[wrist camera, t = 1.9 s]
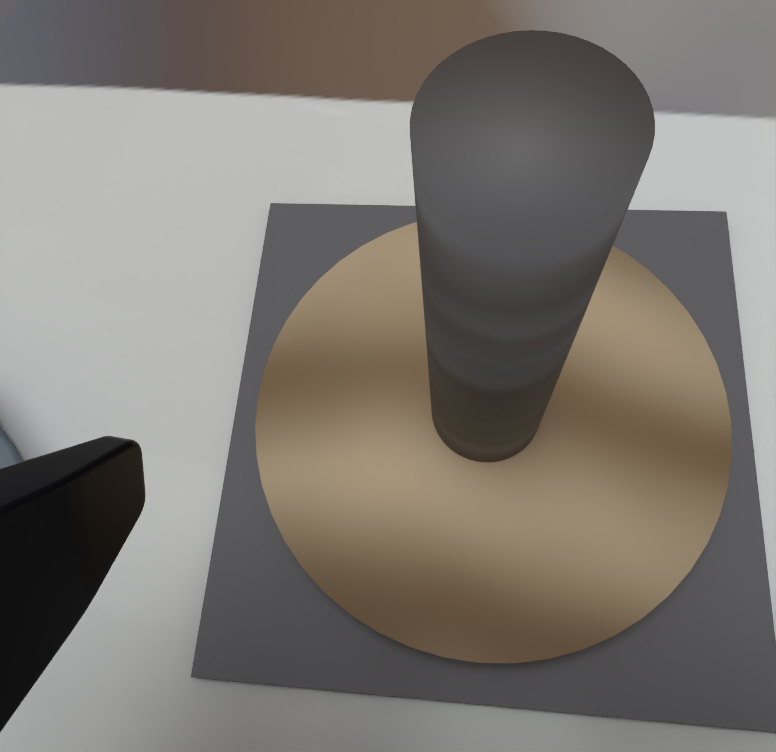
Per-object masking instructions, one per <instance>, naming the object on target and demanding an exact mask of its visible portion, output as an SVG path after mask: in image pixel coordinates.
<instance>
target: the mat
mask: <svg viewBox="0 0 776 752" xmlns="http://www.w3.org/2000/svg"><path fill="white" fill-rule="evenodd" d="M415 222H417V217H416V206H389V205H335V204H280V203H271V204H270V210H269V216H268V222H267V228H266V234H265V240H264V246H263V252H262V258H261V263H260V269H259V275H258V281H257V287H256V293H255V299H254V305H253V311H252V317H251V323H250V329H249V335H248V341H247V347H246V353H245V359H244V365H243V371H242V376H241V382H240V388H239V394H238V400H237V406H236V412H235V418H234V424H233V430H232V436H231V442H230V448H229V454H228V460H227V466H226V472H225V478H224V484H223V490H222V495H221V501H220V507H219V513H218V519H217V525H216V531H215V537H214V543H213V549H212V555H211V561H210V567H209V573H208V579H207V585H206V591H205V597H204V603H203V608H202V614H201V620H200V626H199V632H198V638H197V644H196V650H195V656H194V662H193V668H192V674H191V677H193V678H204V679H215V680H225V681H236V682H246V683H257V684H267V685H278V686H289V687H299V688H310V689H320V690H331V691H341V692H352V693H363V694H373V695H384V696H394V697H405V698H415V699H426V700H437V701H447V702H458V703H468V704H479V705H489V706H500V707H511V708H521V709H532V710H542V711H553V712H563V713H574V714H585V715H595V716H606V717H616V718H627V719H637V720H648V721H659V722H669V723H680V724H690V725H701V726H711V727H722V728H733V729H743V730H754V731H764V732H775V733H776V641H775V633H774V624H773V615H772V606H771V598H770V589H769V580H768V571H767V563H766V554H765V545H764V536H763V528H762V519H761V510H760V502H759V493H758V484H757V475H756V467H755V458H754V449H753V440H752V432H751V423H750V414H749V406H748V397H747V388H746V379H745V371H744V362H743V353H742V344H741V336H740V327H739V318H738V309H737V301H736V292H735V283H734V275H733V266H732V257H731V248H730V240H729V231H728V222H727V213H726V212H716V211H662V210H627V212H626V214H625V217H624V219H623V221H622V224H621V226H620V229H619V231H618V234H617V236H616V239H615V241H614V244H613V246H615V247H616V248H618V249H620V250H622V251H623V252H625V253H626V254H628V255H629V256H630V257H632V258H633V259H635V260H636V261H637V262H639V263H640V264H641V265H643V266H644V267H645V268H647V269H648V270H649V271H650V272H651V273H652V274H653V275H655V276H656V277H657V278H658V279H659V280H660V281H661V282H662V283H663V284H664V285H665V286H666V287H667V288H668V289H669V290H670V291H671V292H672V293H673V294H674V296H675V297H676V298H677V299H678V300H679V302H680V303H681V304H682V305H683V306H684V307H685V309H686V310H687V311H688V312H689V314H690V316H691V317H692V319H693V320H694V322H695V323H696V325H697V326H698V328H699V330H700V331H701V333H702V334H703V336H704V338H705V340H706V342H707V344H708V346H709V348H710V350H711V352H712V354H713V357H714V359H715V361H716V363H717V366H718V369H719V372H720V375H721V378H722V381H723V385H724V388H725V391H726V396H727V401H728V407H729V413H730V418H731V435H732V457H731V466H730V475H729V484H728V487H727V491H726V495H725V499H724V502H723V506H722V510H721V513H720V516H719V518H718V521H717V523H716V525H715V527H714V530H713V532H712V534H711V537H710V539H709V541H708V543H707V545H706V547H705V548H704V550H703V551H702V553H701V555H700V556H699V558H698V559H697V561H696V562H695V564H694V566H693V567H692V569H691V570H690V572H689V573H688V574H687V575H686V576H685V577H684V579H683V580H682V581H681V582H680V583H679V584H678V586H677V587H676V588H675V589H674V590H673V591H672V593H671V594H670V595H669V596H668V597H667V598H666V599H664V600H663V601H662V602H661V603H660V604H659V605H657V606H656V607H655V608H654V609H653V610H652V611H650V612H649V613H648V614H647V615H646V616H645V617H643V618H642V619H640V620H639V621H637V622H636V623H634V624H632V625H631V626H629V627H628V628H626V629H624V630H623V631H621V632H620V633H618V634H616V635H615V636H613V637H610V638H608V639H606V640H604V641H601V642H599V643H597V644H594V645H592V646H590V647H588V648H585V649H583V650H580V651H576V652H572V653H569V654H565V655H561V656H558V657H554V658H550V659H545V660H537V661H529V662H521V663H476V662H470V661H464V660H457V659H451V658H445V657H441V656H437V655H434V654H431V653H428V652H424V651H421V650H418V649H415V648H411V647H409V646H406V645H404V644H402V643H400V642H398V641H396V640H393V639H391V638H389V637H387V636H385V635H383V634H380V633H378V632H377V631H375V630H374V629H372V628H371V627H369V626H367V625H366V624H364V623H363V622H361V621H360V620H358V619H356V618H355V617H353V616H352V615H350V614H349V613H348V612H347V611H345V610H344V609H343V608H342V607H341V606H340V605H338V604H337V603H336V602H335V601H334V600H333V599H331V598H330V597H329V596H328V595H327V594H326V593H324V592H323V590H322V589H321V588H320V587H319V586H318V585H317V584H316V583H315V581H314V580H313V579H312V578H311V577H310V576H309V575H308V574H307V572H306V571H305V570H304V569H303V568H302V566H301V565H300V563H299V562H298V560H297V559H296V557H295V556H294V554H293V553H292V551H291V550H290V548H289V547H288V545H287V544H286V543H285V541H284V539H283V537H282V535H281V533H280V531H279V528H278V526H277V524H276V522H275V520H274V518H273V516H272V514H271V511H270V508H269V505H268V502H267V499H266V496H265V493H264V490H263V487H262V483H261V478H260V472H259V467H258V461H257V456H256V434H255V423H256V412H257V401H258V395H259V390H260V386H261V382H262V377H263V373H264V369H265V367H266V364H267V361H268V358H269V356H270V353H271V350H272V348H273V345H274V343H275V341H276V339H277V337H278V335H279V334H280V332H281V330H282V328H283V326H284V324H285V322H286V320H287V319H288V317H289V316H290V315H291V313H292V312H293V310H294V309H295V307H296V306H297V305H298V303H299V302H300V300H301V299H302V298H303V297H304V295H305V294H306V293H307V292H308V291H309V290H310V289H311V288H312V287H313V285H314V284H315V283H316V282H317V281H318V280H319V279H320V278H321V277H322V276H323V275H324V274H325V273H327V272H328V271H329V270H330V269H331V268H332V267H334V266H335V265H336V264H337V263H338V262H339V261H341V260H342V259H343V258H345V257H346V256H348V255H349V254H351V253H352V252H354V251H355V250H357V249H358V248H360V247H361V246H363V245H365V244H366V243H368V242H370V241H372V240H374V239H376V238H378V237H380V236H382V235H384V234H385V233H388V232H390V231H393V230H396V229H398V228H401V227H403V226H406V225H409V224H411V223H415Z"/></svg>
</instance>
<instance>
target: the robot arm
mask: <svg viewBox="0 0 776 752" xmlns="http://www.w3.org/2000/svg"><path fill="white" fill-rule="evenodd" d="M144 502H145V484H144V472H143V461H142V452H141V448H140V446H139V444H138V443H137V442H136V441H134V440H130V439H124V438H118V437H113V436H105V437H101V438H98V439H94V440H91V441H88V442H85V443H82V444H78V445H75V446H72V447H69V448H65V449H62V450H59V451H56V452H52V453H49V454H46V455H43V456H40V457H36V458H33V459H30V460H27V461H23V462H20V463H17V464H14V465H11V466H7V467H4V468H1V469H0V732H1V730H2V729H3V728H4V726H5V725H6V723H7V722H8V721H9V719H10V718H11V716H12V715H13V713H14V712H15V711H16V709H17V708H18V706H19V705H20V704H21V702H22V701H23V699H24V698H25V697H26V695H27V694H28V692H29V691H30V689H31V688H32V687H33V685H34V684H35V682H36V681H37V680H38V678H39V677H40V675H41V674H42V673H43V671H44V670H45V668H46V667H47V665H48V664H49V663H50V661H51V660H52V658H53V657H54V656H55V654H56V653H57V651H58V650H59V649H60V647H61V646H62V644H63V643H64V641H65V640H66V639H67V637H68V636H69V634H70V633H71V632H72V630H73V629H74V627H75V626H76V624H77V623H78V621H79V620H80V618H81V617H82V615H83V614H84V613H85V611H86V609H87V608H88V606H89V604H90V603H91V601H92V599H93V598H94V596H95V595H96V593H97V591H98V589H99V587H100V586H101V584H102V582H103V580H104V578H105V577H106V575H107V573H108V571H109V570H110V568H111V566H112V564H113V562H114V561H115V559H116V557H117V555H118V554H119V552H120V550H121V548H122V546H123V545H124V543H125V541H126V539H127V538H128V536H129V534H130V532H131V530H132V529H133V527H134V525H135V523H136V521H137V520H138V518H139V516H140V514H141V512H142V509H143V507H144Z"/></svg>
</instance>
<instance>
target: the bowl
mask: <svg viewBox="0 0 776 752" xmlns="http://www.w3.org/2000/svg"><path fill="white" fill-rule="evenodd" d="M20 462H23V461H22V459H21V457H20V455H19V453H18V451H17V449H16V448H15V446H14V445H13V443H12V442H11V441H10V439H9V438H8V437H7V435H6V434H5V433H4V432H3V431H2V430H1V429H0V469H1V468H4V467H7V466H11V465H14V464H17V463H20Z"/></svg>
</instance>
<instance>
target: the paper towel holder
mask: <svg viewBox="0 0 776 752" xmlns="http://www.w3.org/2000/svg"><path fill="white" fill-rule="evenodd" d="M654 135H655V120H654V113H653V108H652V105H651V102H650V99H649V96H648V94H647V92H646V90H645V88H644V86H643V85H642V83H641V82H640V81H639V79H638V78H637V76H636V75H635V74H634V73H633V72H632V71H631V69H630V68H628V66H627V65H626V64H625V63H623V62H622V61H621V60H620V59H618V58H617V57H616V56H615V55H613V54H611V53H610V52H608V51H607V50H605V49H604V48H602V47H600V46H598V45H596V44H593V43H591V42H589V41H586V40H584V39H581V38H578V37H575V36H571V35H566V34H562V33H557V32H549V31H532V30H530V31H515V32H508V33H502V34H498V35H494V36H490V37H486V38H484V39H481V40H478V41H475V42H473V43H471V44H469V45H467V46H465V47H463V48H461V49H459V50H458V51H456V52H455V53H453V54H451V55H450V56H449V57H447V58H446V59H445V60H444V61H442V62H441V63H440V64H439V65H438V66H437V67H436V68H435V69H434V70H433V71H432V72H431V73H430V74H429V76H428V77H427V78H426V80H425V81H424V83H423V84H422V86H421V88H420V90H419V92H418V93H417V95H416V98H415V101H414V104H413V107H412V112H411V117H410V139H411V152H412V165H413V178H414V191H415V204H416V217H417V222H415V223H411V224H409V225H406V226H403V227H401V228H398V229H396V230H393V231H390V232H388V233H385V234H384V235H382V236H380V237H378V238H376V239H374V240H372V241H370V242H368V243H366V244H365V245H363V246H361V247H360V248H358V249H357V250H355V251H354V252H352V253H351V254H349V255H348V256H346V257H345V258H343V259H342V260H341V261H339V262H338V263H337V264H336V265H335V266H334V267H332V268H331V269H330V270H329V271H328V272H327V273H325V274H324V275H323V276H322V277H321V278H320V279H319V280H318V281H317V282H316V283H315V284H314V285H313V287H312V288H311V289H310V290H309V291H308V292H307V293H306V294H305V295H304V297H303V298H302V299H301V300H300V302H299V303H298V305H297V306H296V307H295V309H294V310H293V312H292V313H291V315H290V316H289V317H288V319H287V320H286V322H285V324H284V326H283V328H282V330H281V332H280V334H279V335H278V337H277V339H276V341H275V343H274V345H273V348H272V350H271V353H270V356H269V358H268V361H267V364H266V367H265V369H264V373H263V377H262V382H261V386H260V390H259V395H258V401H257V412H256V423H255V434H256V456H257V461H258V467H259V472H260V478H261V483H262V487H263V490H264V493H265V496H266V499H267V502H268V505H269V508H270V511H271V514H272V516H273V518H274V520H275V522H276V524H277V526H278V528H279V531H280V533H281V535H282V537H283V539H284V541H285V543H286V544H287V545H288V547H289V548H290V550H291V551H292V553H293V554H294V556H295V557H296V559H297V560H298V562H299V563H300V565H301V566H302V568H303V569H304V570H305V571H306V572H307V574H308V575H309V576H310V577H311V578H312V579H313V580H314V581H315V583H316V584H317V585H318V586H319V587H320V588H321V589H322V590H323V592H324V593H326V594H327V595H328V596H329V597H330V598H331V599H333V600H334V601H335V602H336V603H337V604H338V605H340V606H341V607H342V608H343V609H344V610H345V611H347V612H348V613H349V614H350V615H352V616H353V617H355V618H356V619H358V620H360V621H361V622H363V623H364V624H366V625H367V626H369V627H371V628H372V629H374V630H375V631H377V632H378V633H380V634H383V635H385V636H387V637H389V638H391V639H393V640H396V641H398V642H400V643H402V644H404V645H406V646H409V647H411V648H415V649H418V650H421V651H424V652H428V653H431V654H434V655H437V656H441V657H445V658H451V659H457V660H464V661H470V662H476V663H521V662H529V661H537V660H545V659H550V658H554V657H558V656H561V655H565V654H569V653H572V652H576V651H580V650H583V649H585V648H588V647H590V646H592V645H594V644H597V643H599V642H601V641H604V640H606V639H608V638H610V637H613V636H615V635H616V634H618V633H620V632H621V631H623V630H624V629H626V628H628V627H629V626H631V625H632V624H634V623H636V622H637V621H639V620H640V619H642V618H643V617H645V616H646V615H647V614H648V613H649V612H650V611H652V610H653V609H654V608H655V607H656V606H657V605H659V604H660V603H661V602H662V601H663V600H664V599H666V598H667V597H668V596H669V595H670V594H671V593H672V591H673V590H674V589H675V588H676V587H677V586H678V584H679V583H680V582H681V581H682V580H683V579H684V577H685V576H686V575H687V574H688V573H689V572H690V570H691V569H692V567H693V566H694V564H695V562H696V561H697V559H698V558H699V556H700V555H701V553H702V551H703V550H704V548H705V547H706V545H707V543H708V541H709V539H710V537H711V534H712V532H713V530H714V527H715V525H716V523H717V521H718V518H719V516H720V513H721V510H722V506H723V502H724V499H725V495H726V491H727V487H728V484H729V475H730V466H731V457H732V435H731V418H730V413H729V407H728V401H727V396H726V391H725V388H724V385H723V381H722V378H721V375H720V372H719V369H718V366H717V363H716V361H715V359H714V357H713V354H712V352H711V350H710V348H709V346H708V344H707V342H706V340H705V338H704V336H703V334H702V333H701V331H700V330H699V328H698V326H697V325H696V323H695V322H694V320H693V319H692V317H691V316H690V314H689V312H688V311H687V310H686V309H685V307H684V306H683V305H682V304H681V303H680V302H679V300H678V299H677V298H676V297H675V296H674V294H673V293H672V292H671V291H670V290H669V289H668V288H667V287H666V286H665V285H664V284H663V283H662V282H661V281H660V280H659V279H658V278H657V277H656V276H655V275H653V274H652V273H651V272H650V271H649V270H648V269H647V268H645V267H644V266H643V265H641V264H640V263H639V262H637V261H636V260H635V259H633V258H632V257H630V256H629V255H628V254H626V253H625V252H623V251H622V250H620V249H618V248H616V247H615V246H613V244H614V241H615V239H616V236H617V234H618V231H619V229H620V226H621V224H622V221H623V219H624V217H625V214H626V212H627V209H628V207H629V204H630V202H631V199H632V197H633V195H634V192H635V190H636V187H637V185H638V182H639V180H640V177H641V175H642V172H643V170H644V168H645V165H646V163H647V160H648V158H649V155H650V152H651V149H652V146H653V140H654Z"/></svg>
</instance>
